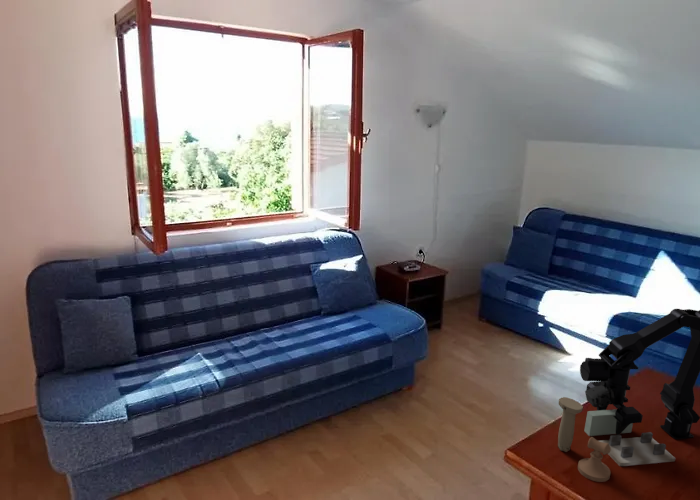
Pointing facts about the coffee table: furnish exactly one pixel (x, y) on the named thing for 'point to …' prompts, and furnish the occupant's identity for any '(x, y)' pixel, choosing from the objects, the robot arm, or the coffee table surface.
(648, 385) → the coffee table surface
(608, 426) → the cabinet door
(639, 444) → the cabinet panel
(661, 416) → the coffee table surface
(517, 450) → the coffee table surface
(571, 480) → the coffee table surface
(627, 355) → the robot arm
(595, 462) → the door knob
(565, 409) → the handle
